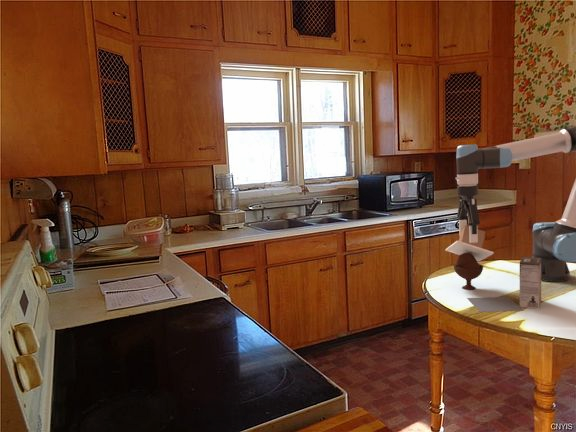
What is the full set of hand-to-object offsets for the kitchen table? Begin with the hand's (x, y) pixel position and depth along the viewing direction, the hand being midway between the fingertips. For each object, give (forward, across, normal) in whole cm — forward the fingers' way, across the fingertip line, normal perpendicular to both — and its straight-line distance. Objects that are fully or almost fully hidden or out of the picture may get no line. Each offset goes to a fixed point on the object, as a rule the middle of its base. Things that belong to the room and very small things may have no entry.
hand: (468, 239), depth 171 cm
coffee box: (+21, +20, +15) cm, 32 cm away
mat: (+20, +19, +3) cm, 28 cm away
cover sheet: (+5, 0, 0) cm, 5 cm away
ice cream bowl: (+21, 0, 0) cm, 21 cm away
